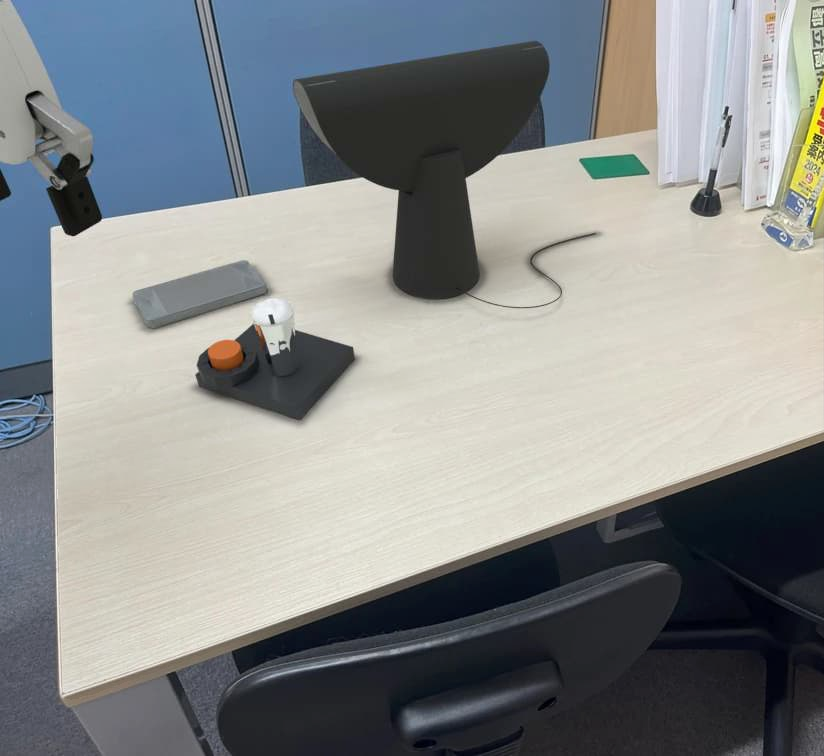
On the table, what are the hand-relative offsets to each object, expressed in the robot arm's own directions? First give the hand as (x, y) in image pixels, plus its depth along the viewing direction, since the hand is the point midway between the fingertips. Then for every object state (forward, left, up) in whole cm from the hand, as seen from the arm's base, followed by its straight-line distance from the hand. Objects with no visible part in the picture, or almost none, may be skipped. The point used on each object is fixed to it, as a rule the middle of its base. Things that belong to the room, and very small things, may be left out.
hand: (38, 214), depth 57 cm
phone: (-14, +26, -28) cm, 41 cm away
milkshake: (+7, +16, -27) cm, 32 cm away
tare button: (+1, +14, -25) cm, 29 cm away
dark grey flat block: (+5, +17, -28) cm, 33 cm away
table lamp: (+18, +48, -28) cm, 59 cm away
